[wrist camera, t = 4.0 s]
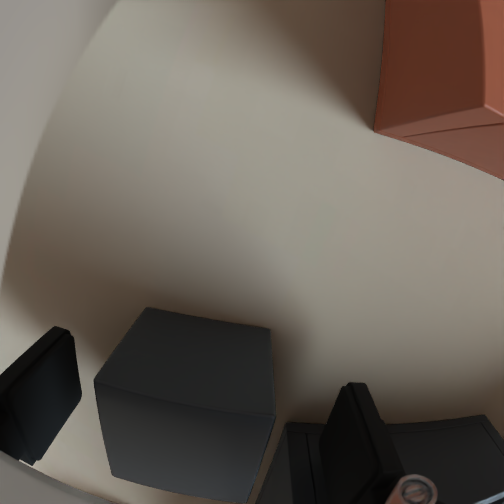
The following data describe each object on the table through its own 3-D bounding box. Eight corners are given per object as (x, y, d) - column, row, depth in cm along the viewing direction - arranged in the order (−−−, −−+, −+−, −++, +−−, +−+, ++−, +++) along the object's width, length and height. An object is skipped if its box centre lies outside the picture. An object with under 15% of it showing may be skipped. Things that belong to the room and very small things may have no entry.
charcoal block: (145, 398, 12) (111, 476, 8) (145, 305, 11) (91, 378, 6) (250, 417, 12) (246, 504, 8) (271, 328, 11) (277, 417, 7)
